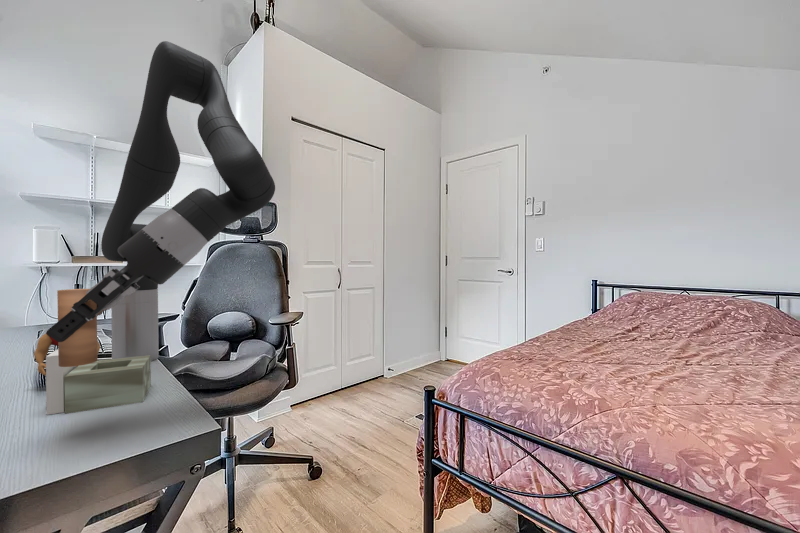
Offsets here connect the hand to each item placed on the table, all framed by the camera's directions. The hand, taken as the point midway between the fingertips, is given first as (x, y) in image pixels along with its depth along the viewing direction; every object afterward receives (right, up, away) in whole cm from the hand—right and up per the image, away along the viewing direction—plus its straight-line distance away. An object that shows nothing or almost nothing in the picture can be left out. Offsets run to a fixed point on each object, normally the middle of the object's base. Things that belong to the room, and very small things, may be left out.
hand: (59, 334), depth 49 cm
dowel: (+2, -4, +1) cm, 5 cm away
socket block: (-4, -14, +15) cm, 21 cm away
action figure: (-18, -14, +22) cm, 32 cm away
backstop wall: (-10, -14, +11) cm, 21 cm away
